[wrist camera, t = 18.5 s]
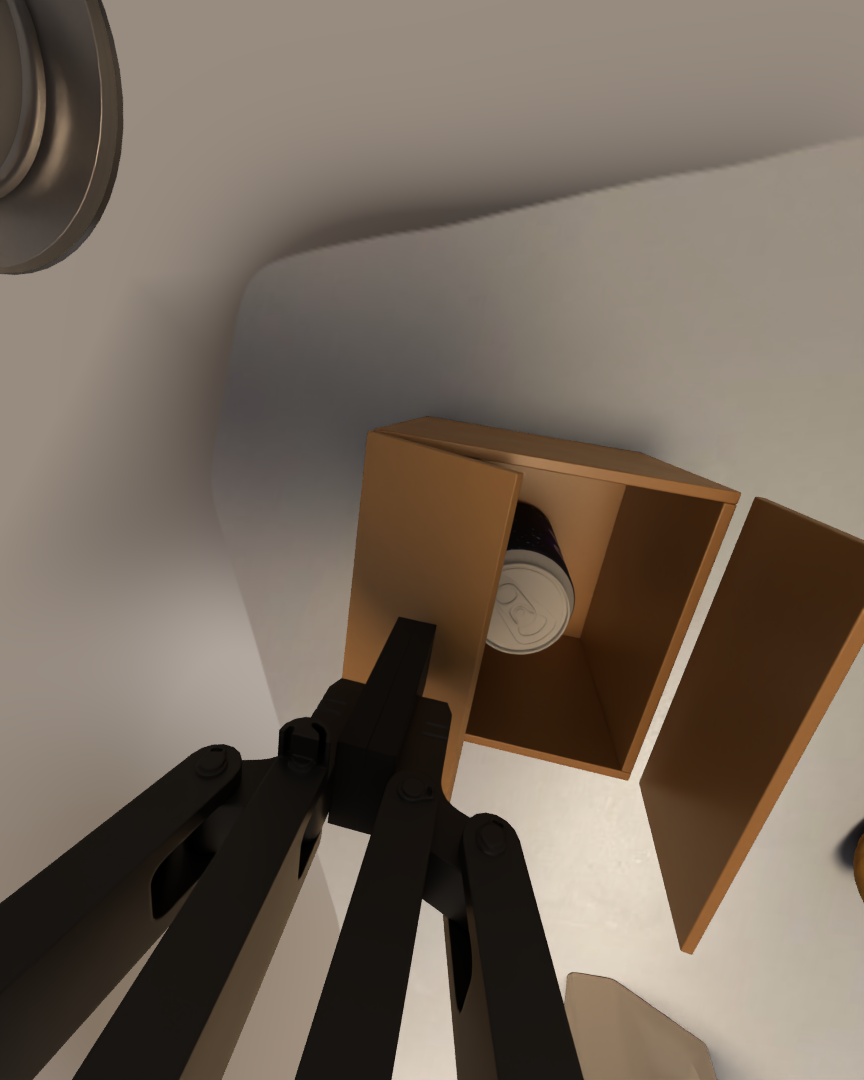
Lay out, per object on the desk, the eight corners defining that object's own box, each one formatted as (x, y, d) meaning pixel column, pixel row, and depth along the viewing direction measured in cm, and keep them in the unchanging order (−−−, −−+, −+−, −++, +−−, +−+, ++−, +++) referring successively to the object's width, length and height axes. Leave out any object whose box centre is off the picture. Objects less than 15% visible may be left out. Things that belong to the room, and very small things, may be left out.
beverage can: (506, 586, 34) (507, 680, 23) (459, 530, 33) (436, 599, 22) (569, 543, 32) (603, 623, 21) (521, 483, 31) (530, 532, 20)
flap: (343, 718, 23) (337, 721, 23) (374, 430, 18) (367, 430, 18) (446, 818, 19) (440, 824, 18) (524, 472, 14) (517, 473, 14)
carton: (399, 602, 36) (277, 841, 17) (426, 416, 31) (298, 445, 12) (594, 644, 35) (711, 961, 15) (654, 454, 30) (941, 563, 10)
